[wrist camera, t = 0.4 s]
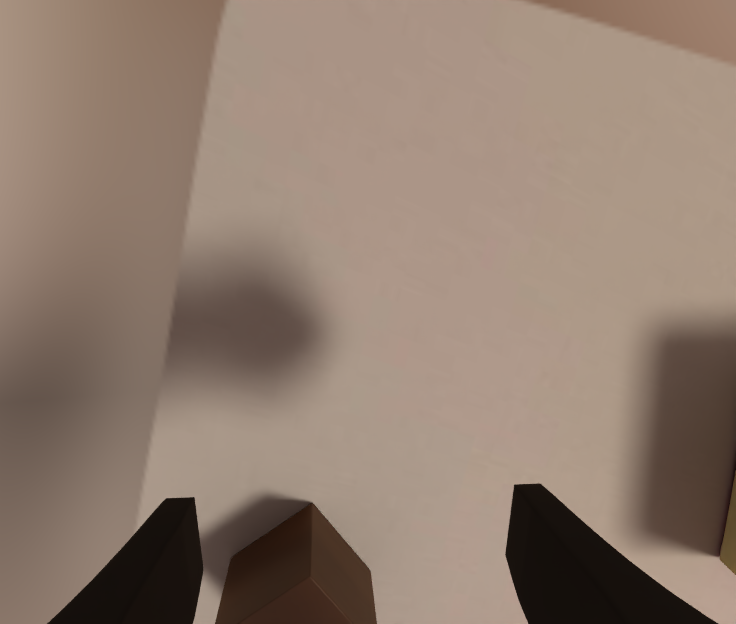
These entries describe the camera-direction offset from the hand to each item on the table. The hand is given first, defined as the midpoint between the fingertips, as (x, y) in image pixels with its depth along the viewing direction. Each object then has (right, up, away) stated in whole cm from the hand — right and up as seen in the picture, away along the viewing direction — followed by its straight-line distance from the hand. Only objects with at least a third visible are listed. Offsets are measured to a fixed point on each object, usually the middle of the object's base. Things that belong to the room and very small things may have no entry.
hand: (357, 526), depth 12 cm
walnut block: (-3, -7, +12) cm, 14 cm away
